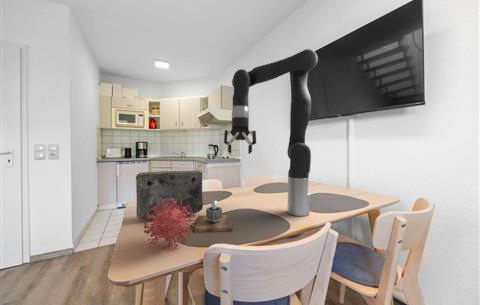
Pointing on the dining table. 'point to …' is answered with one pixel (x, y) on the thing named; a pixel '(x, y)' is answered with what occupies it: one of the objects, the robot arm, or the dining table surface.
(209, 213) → the ring
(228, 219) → the board
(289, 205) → the robot arm
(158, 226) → the virus model
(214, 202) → the post
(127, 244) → the dining table surface
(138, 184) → the concrete block
